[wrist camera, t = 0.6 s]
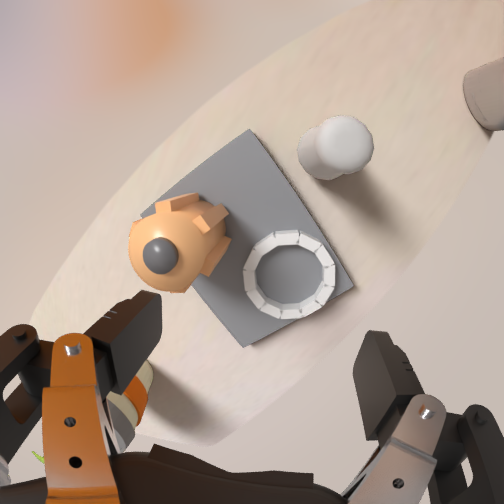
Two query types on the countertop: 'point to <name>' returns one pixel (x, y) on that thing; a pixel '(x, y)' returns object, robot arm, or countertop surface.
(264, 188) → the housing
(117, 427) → the reusable coffee cup
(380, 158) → the countertop surface
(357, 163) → the salt shaker
